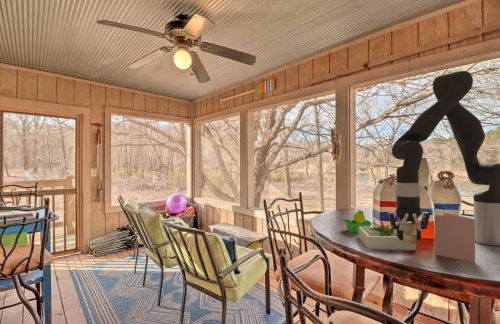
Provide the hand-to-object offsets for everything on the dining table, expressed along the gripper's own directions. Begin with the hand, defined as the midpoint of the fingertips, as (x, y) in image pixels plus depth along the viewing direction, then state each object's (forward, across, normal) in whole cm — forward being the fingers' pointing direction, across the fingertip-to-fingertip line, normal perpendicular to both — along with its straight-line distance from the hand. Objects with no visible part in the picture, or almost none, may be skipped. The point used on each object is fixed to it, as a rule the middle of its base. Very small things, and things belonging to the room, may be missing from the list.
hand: (409, 239), depth 98 cm
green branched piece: (+5, -4, +16) cm, 17 cm away
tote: (+6, -4, +14) cm, 15 cm away
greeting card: (+6, +14, 0) cm, 16 cm away
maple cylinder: (+1, 0, 0) cm, 1 cm away
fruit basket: (+6, -11, +30) cm, 33 cm away
